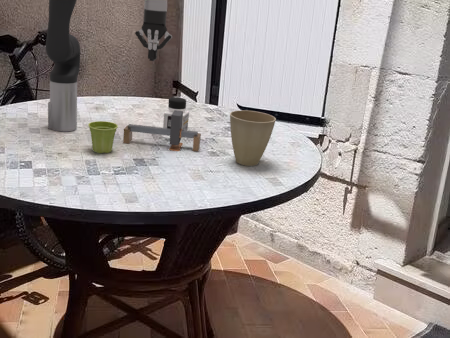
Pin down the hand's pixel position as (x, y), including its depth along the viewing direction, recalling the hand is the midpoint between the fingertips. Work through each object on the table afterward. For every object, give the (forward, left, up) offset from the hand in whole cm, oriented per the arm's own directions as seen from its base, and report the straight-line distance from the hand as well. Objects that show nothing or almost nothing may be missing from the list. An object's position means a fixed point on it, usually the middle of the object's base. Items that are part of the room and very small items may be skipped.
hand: (152, 60), depth 192 cm
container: (+8, +11, -28) cm, 31 cm away
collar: (+11, -8, -26) cm, 29 cm away
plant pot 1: (-11, -21, -28) cm, 36 cm away
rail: (+6, -8, -28) cm, 29 cm away
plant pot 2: (+36, -16, -28) cm, 48 cm away
